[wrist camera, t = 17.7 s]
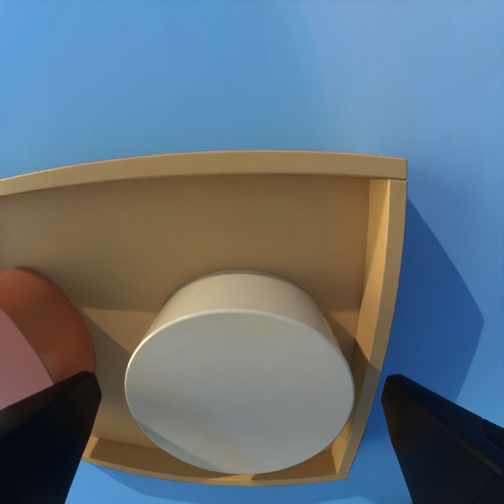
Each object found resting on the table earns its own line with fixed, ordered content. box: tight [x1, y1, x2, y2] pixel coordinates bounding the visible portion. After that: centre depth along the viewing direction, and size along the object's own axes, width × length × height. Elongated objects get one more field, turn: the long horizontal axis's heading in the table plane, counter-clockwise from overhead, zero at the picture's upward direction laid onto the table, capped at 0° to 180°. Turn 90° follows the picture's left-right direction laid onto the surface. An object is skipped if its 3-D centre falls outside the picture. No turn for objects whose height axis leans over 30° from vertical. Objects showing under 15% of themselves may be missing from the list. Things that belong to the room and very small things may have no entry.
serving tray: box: [0, 150, 407, 486], centre depth 10 cm, size 13×18×2 cm
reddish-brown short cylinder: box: [0, 266, 96, 410], centre depth 9 cm, size 6×6×3 cm
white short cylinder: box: [125, 269, 355, 474], centre depth 9 cm, size 6×6×3 cm
